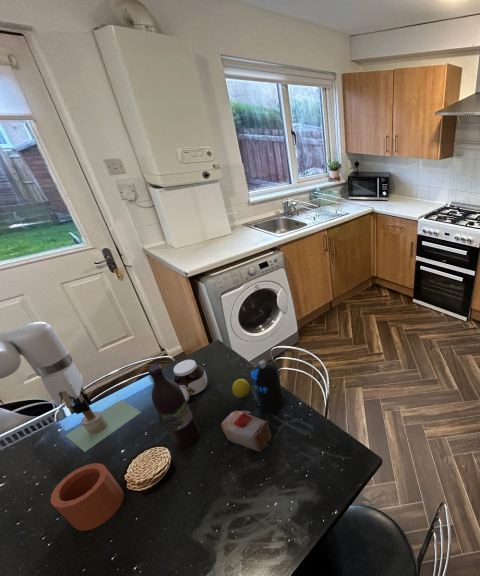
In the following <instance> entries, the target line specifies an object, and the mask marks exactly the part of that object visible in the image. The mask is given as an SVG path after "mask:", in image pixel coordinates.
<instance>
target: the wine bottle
mask: <svg viewBox="0 0 480 576" xmlns="http://www.w3.org/2000/svg"><path fill="white" fill-rule="evenodd" d="M148 374H149V376H151V378H152V381H153V386H152V389H151V401H152V404H153V406H154V408H155V409H156V411H157V414H158V416H159V418H160V419H161V421H162V423H163V426H164V427H165V429H166V431H167V433H168V434H169V436H170V439H171V440H172V442H173V445H174V446H175V447H176V448H178V449H179V450H181V449H183V450H184V449H188V448H190V447H191V446H193V445H195V444H196V443H197V441H198V440H199V439H200V437H201V431H200V429H199V426H198V424H197V421H196V419H195V417H194V415H193V413H192V410H191V408H190V406H189V403H188V401H186V399H185V396H184V394H183V392H182V390H181V388H180V387H179V386H178V384H177V383H175V382H173V381H172V379H169V378H167V377H166V375H165V374H164V372H163V368H162V366H161V365H160V364H154V365H152V366H150V367H149V368H148Z"/></svg>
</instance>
